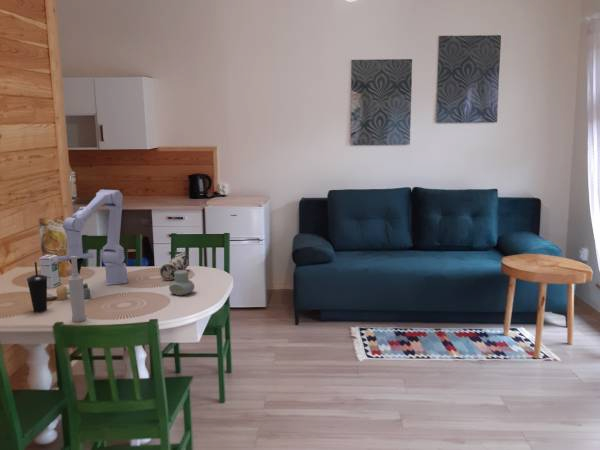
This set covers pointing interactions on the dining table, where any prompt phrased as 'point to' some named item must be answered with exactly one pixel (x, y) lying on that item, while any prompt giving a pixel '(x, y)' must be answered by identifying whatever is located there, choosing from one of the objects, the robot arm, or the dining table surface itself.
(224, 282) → the dining table surface
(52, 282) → the syrup box
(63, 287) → the plug
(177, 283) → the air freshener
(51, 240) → the pancake mix bag
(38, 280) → the drinking cup
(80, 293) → the bottle
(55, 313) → the dining table surface
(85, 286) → the channel
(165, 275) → the pencil case
